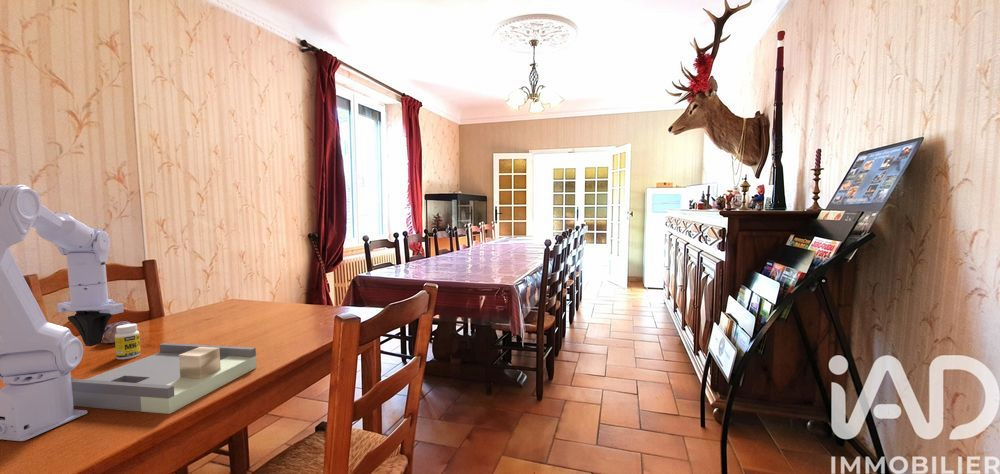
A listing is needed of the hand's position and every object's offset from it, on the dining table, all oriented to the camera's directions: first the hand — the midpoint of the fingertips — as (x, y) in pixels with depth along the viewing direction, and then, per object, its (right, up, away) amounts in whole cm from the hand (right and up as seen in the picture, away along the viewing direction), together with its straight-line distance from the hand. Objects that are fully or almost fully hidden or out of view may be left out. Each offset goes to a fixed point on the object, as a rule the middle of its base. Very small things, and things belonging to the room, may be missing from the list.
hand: (93, 344), depth 86 cm
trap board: (+15, -9, +2) cm, 18 cm away
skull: (-25, -8, +32) cm, 42 cm away
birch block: (+24, -6, 0) cm, 24 cm away
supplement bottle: (-10, -8, +18) cm, 22 cm away
